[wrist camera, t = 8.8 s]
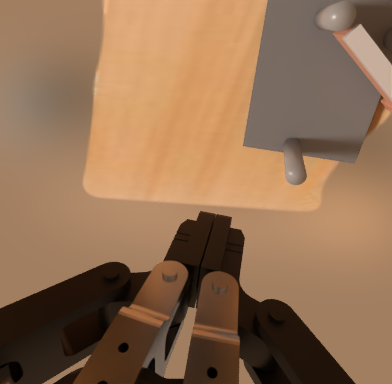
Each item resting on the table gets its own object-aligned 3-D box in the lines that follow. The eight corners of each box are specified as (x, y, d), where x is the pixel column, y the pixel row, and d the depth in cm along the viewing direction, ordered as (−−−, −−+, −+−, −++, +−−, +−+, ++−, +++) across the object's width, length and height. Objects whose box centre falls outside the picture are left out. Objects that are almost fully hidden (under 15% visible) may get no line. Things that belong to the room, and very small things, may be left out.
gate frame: (271, -20, 30) (271, -38, 22) (420, -10, 28) (484, -25, 20) (243, 143, 39) (235, 175, 31) (354, 160, 37) (378, 200, 29)
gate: (328, 35, 30) (344, 38, 24) (340, 24, 30) (360, 23, 23) (386, 108, 32) (416, 131, 26) (399, 99, 32) (433, 120, 25)
